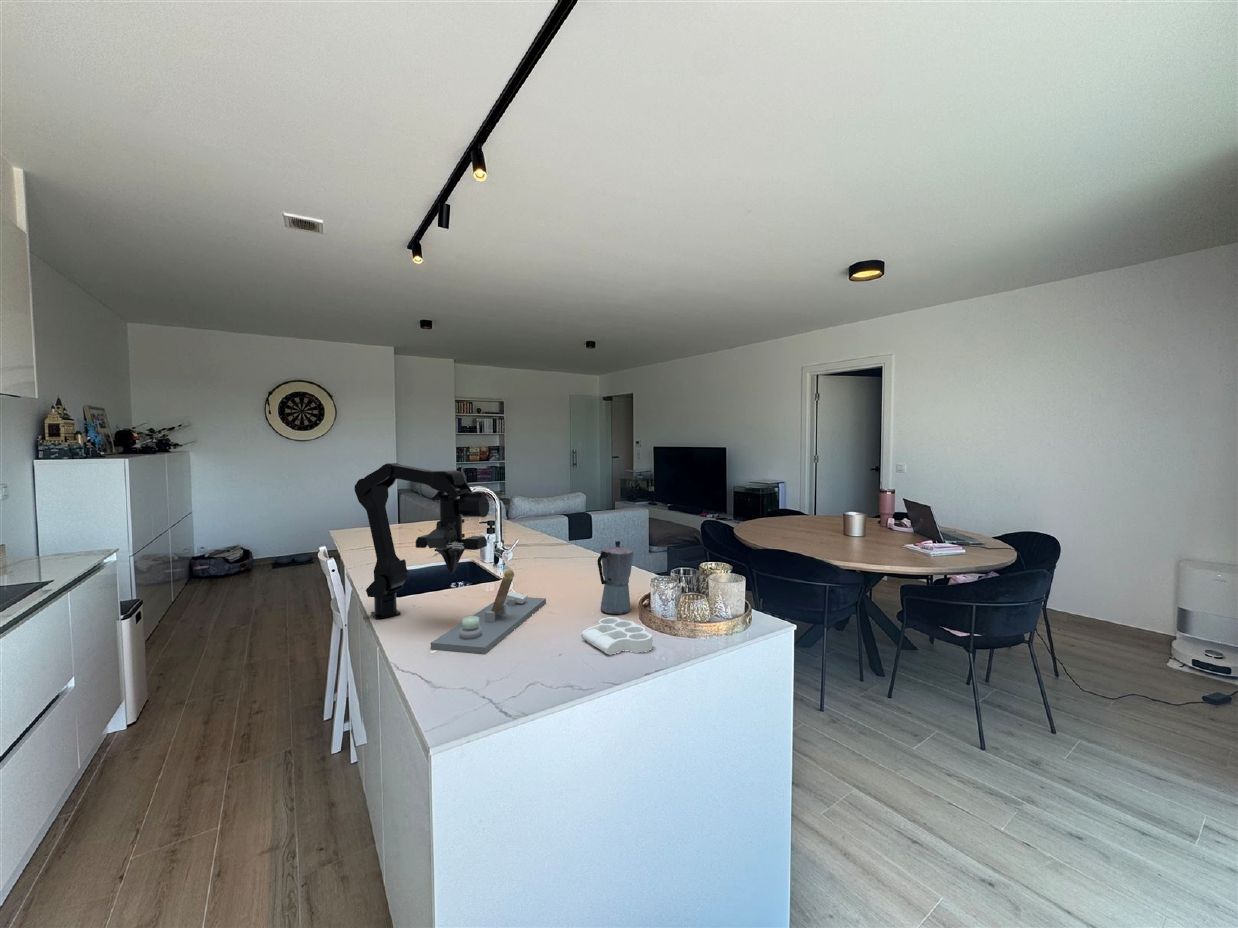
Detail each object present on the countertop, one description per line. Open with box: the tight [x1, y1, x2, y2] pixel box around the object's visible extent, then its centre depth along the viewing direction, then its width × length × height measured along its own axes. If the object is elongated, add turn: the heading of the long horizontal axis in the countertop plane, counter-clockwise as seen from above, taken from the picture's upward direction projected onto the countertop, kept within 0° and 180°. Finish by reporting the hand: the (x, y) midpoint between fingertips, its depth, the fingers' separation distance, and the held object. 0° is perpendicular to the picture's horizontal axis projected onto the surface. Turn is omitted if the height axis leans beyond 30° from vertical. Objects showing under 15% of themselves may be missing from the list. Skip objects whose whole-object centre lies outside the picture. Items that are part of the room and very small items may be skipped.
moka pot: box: [596, 540, 635, 615], centre depth 142 cm, size 10×15×20 cm, turn 148°
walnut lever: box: [491, 569, 515, 617], centre depth 132 cm, size 3×4×14 cm, turn 167°
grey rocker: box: [506, 590, 529, 604], centre depth 146 cm, size 6×4×1 cm, turn 77°
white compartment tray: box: [580, 616, 653, 656], centre depth 120 cm, size 3×18×15 cm
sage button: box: [461, 615, 479, 629], centre depth 120 cm, size 4×4×2 cm
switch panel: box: [430, 592, 547, 655], centre depth 133 cm, size 14×38×4 cm, turn 167°
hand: (451, 573), depth 135 cm, fingers closed
